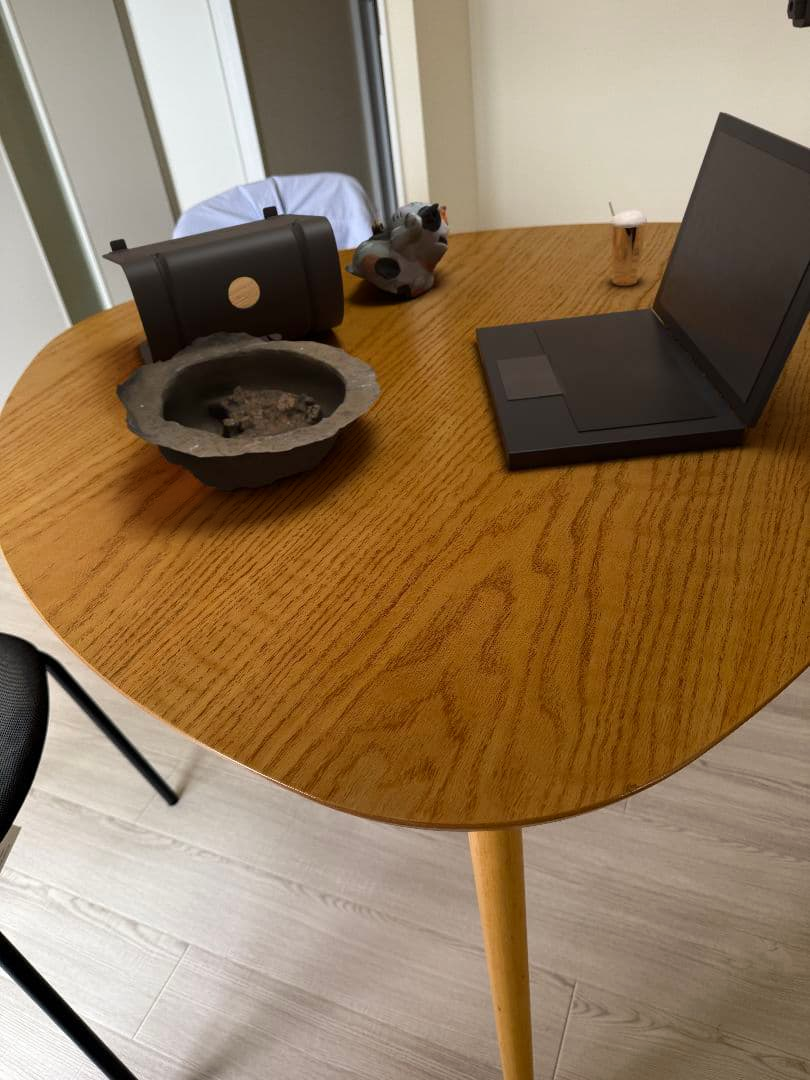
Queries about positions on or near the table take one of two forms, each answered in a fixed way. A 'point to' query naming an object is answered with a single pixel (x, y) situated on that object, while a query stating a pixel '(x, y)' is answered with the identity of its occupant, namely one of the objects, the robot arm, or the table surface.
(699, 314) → the laptop screen
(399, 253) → the lucky cat figurine
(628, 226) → the milkshake
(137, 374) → the stone bowl
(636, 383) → the laptop
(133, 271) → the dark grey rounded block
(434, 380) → the table surface
